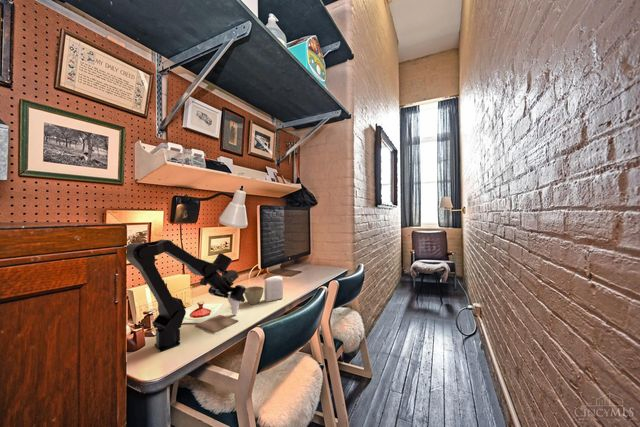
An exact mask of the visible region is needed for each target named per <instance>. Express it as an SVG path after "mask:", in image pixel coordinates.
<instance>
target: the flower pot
mask: <svg viewBox="0 0 640 427" xmlns="http://www.w3.org/2000/svg"><path fill="white" fill-rule="evenodd" d="M245 288H246V290H245V292H244V294H243V295H244V298H245V300H246V301H247V302H248V304H250V305H257V304H259V302H261V299H262V297H263V294H264V290H265V287H263V286H257V285H256V286H255V285H254V286H249V287H245Z"/></svg>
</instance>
